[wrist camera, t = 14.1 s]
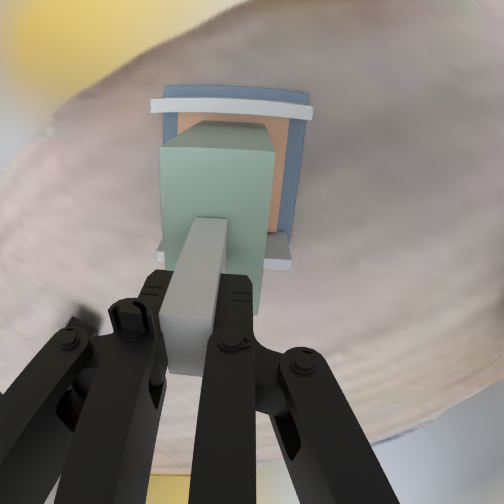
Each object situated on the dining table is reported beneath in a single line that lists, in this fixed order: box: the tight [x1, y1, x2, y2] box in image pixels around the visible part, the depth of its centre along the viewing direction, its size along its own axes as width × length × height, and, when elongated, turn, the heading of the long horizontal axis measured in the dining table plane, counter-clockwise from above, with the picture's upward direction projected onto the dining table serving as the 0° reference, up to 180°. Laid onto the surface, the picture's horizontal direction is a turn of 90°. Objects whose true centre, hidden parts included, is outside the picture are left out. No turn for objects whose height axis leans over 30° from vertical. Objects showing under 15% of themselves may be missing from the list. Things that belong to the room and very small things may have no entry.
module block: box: [159, 120, 276, 315], centre depth 20 cm, size 5×9×12 cm, turn 176°
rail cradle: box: [151, 85, 313, 270], centre depth 24 cm, size 12×15×6 cm
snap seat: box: [177, 112, 289, 233], centre depth 25 cm, size 9×10×1 cm
